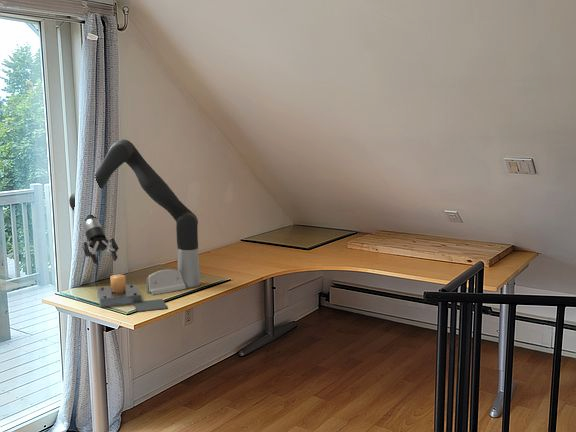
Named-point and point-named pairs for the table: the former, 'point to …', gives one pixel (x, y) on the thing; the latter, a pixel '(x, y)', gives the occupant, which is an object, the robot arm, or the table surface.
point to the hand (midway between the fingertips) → (106, 261)
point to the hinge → (165, 281)
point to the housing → (118, 296)
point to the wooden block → (118, 284)
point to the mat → (150, 305)
